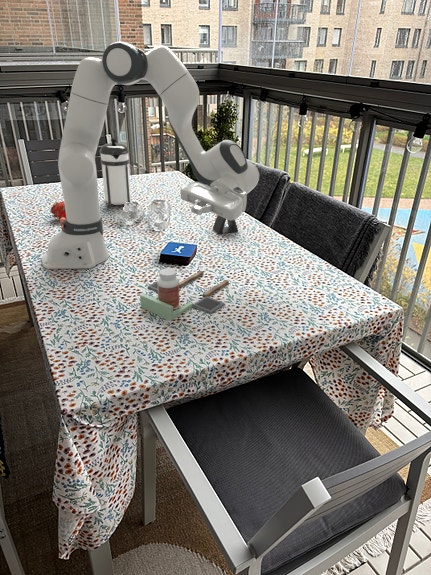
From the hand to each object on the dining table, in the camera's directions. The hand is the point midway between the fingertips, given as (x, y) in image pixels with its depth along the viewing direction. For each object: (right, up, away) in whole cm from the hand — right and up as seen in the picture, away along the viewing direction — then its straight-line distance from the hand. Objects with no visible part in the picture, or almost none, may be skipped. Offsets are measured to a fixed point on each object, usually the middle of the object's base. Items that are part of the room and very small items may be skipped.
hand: (194, 211), depth 129 cm
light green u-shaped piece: (-8, -28, 0) cm, 29 cm away
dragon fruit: (-58, +7, +62) cm, 85 cm away
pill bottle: (-8, -28, +1) cm, 29 cm away
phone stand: (+10, +1, +55) cm, 56 cm away
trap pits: (-3, -24, +7) cm, 25 cm away
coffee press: (-40, +17, +82) cm, 93 cm away
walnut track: (+2, -21, +12) cm, 25 cm away
